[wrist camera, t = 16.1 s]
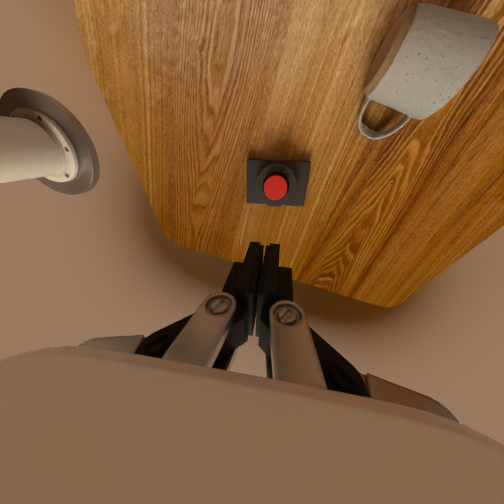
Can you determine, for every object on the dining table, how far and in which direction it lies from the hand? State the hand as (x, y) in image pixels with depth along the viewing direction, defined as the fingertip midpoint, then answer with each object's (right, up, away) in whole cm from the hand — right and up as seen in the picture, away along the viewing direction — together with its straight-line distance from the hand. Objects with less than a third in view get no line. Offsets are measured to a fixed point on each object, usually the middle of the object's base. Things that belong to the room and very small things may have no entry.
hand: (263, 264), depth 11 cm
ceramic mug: (+18, +22, +13) cm, 31 cm away
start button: (+3, +11, +19) cm, 22 cm away
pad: (+4, +13, +21) cm, 25 cm away
